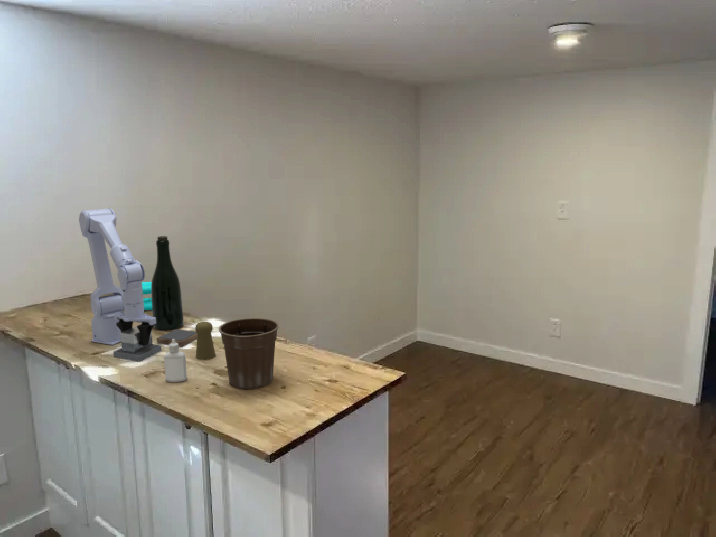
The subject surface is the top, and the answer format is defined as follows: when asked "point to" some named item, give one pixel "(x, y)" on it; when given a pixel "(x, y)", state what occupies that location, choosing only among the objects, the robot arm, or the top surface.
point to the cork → (204, 341)
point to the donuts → (146, 290)
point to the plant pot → (249, 351)
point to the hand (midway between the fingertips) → (137, 343)
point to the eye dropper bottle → (175, 364)
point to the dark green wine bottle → (166, 290)
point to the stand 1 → (138, 353)
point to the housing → (133, 340)
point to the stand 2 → (178, 337)
